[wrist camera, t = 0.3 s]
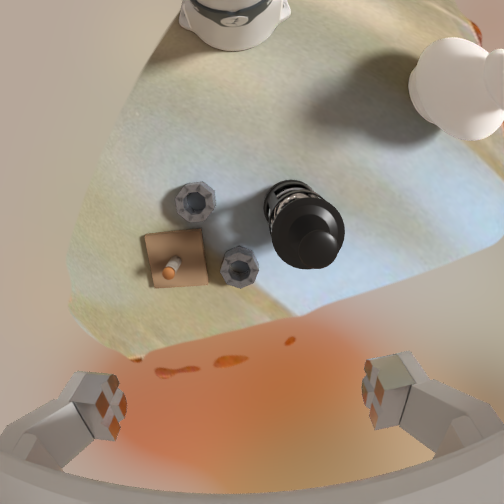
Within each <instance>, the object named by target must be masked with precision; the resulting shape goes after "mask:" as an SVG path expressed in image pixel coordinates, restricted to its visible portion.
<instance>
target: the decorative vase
mask: <svg viewBox="0 0 504 504" xmlns="http://www.w3.org/2000/svg"><path fill="white" fill-rule="evenodd" d="M408 89H409V95H410V98H411V101H412V103H413V105H414V107H415V109H416V110H417V112H418V113H419V114H420V115H421V116H422V117H423V118H424V119H425V120H427V121H428V122H430V123H433V124H436V125H437V126H438V127H439V128H440V129H442V130H443V131H444V132H446V133H447V134H449V135H451V136H453V137H455V138H458V139H462V140H479V139H483V138H486V137H488V136H489V135H491V134H492V133H494V132H495V131H496V130H497V129H498V128H499V127H500V125H501V124H502V122H503V121H504V49H496V50H493V51H491V52H490V53H488V52H487V51H486V50H484V49H483V48H482V47H480V46H478V45H477V44H475V43H473V42H471V41H468V40H465V39H461V38H454V37H450V38H443V39H439V40H437V41H435V42H433V43H431V44H430V45H429V46H427V47H426V48H425V50H424V51H423V52H422V54H421V56H420V58H419V60H418V63H417V66H416V67H415V68H414V69H413V70H412V72H411V74H410V77H409V83H408Z"/></svg>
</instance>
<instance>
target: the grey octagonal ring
mask: <svg viewBox="0 0 504 504" xmlns="http://www.w3.org/2000/svg"><path fill="white" fill-rule="evenodd" d="M238 260H240V261H243V262H246V263H248V265H249V269H248V271H246V272H243V273H241V274H240V273H237V272H234V271H232V269H231V267H230V264H231V263H233V262H235V261H238ZM258 271H259V264H258V261H257V259H256V257H255V255H254V253H253V251H252V250H249V249H246V248H243V247H241V246H238V247H236V248H233V249H231V250H229V251H227V252H226V254H225V256H224V259H223V262H222V265H221V270H220V273H221V274H222V276H223V278H224V280H225V282H226V284H228V285H231V286H234V287H237V288H240V289H241V288H243V287H245V286H248V285H250V284H252V283H254V281H255V279H256V276H257V274H258Z"/></svg>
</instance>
